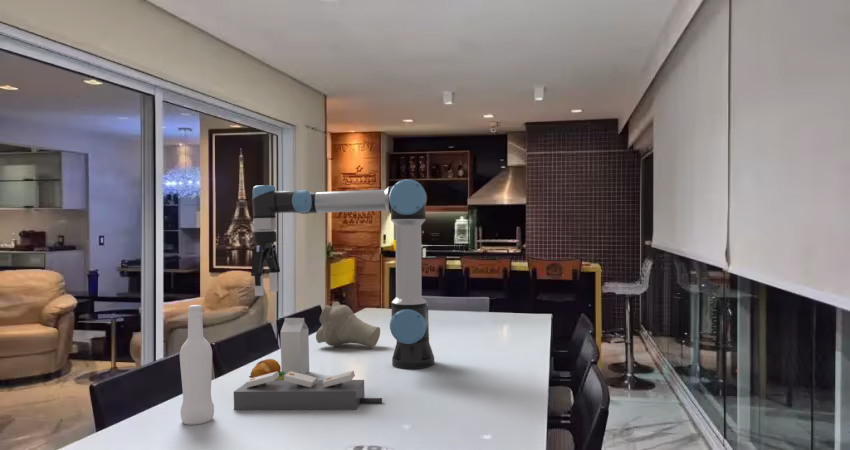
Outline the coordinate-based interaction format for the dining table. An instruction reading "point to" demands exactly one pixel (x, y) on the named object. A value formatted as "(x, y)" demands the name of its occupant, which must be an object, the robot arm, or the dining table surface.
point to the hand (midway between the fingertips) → (266, 293)
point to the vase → (345, 327)
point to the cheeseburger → (267, 369)
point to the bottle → (196, 372)
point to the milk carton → (294, 346)
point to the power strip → (302, 396)
